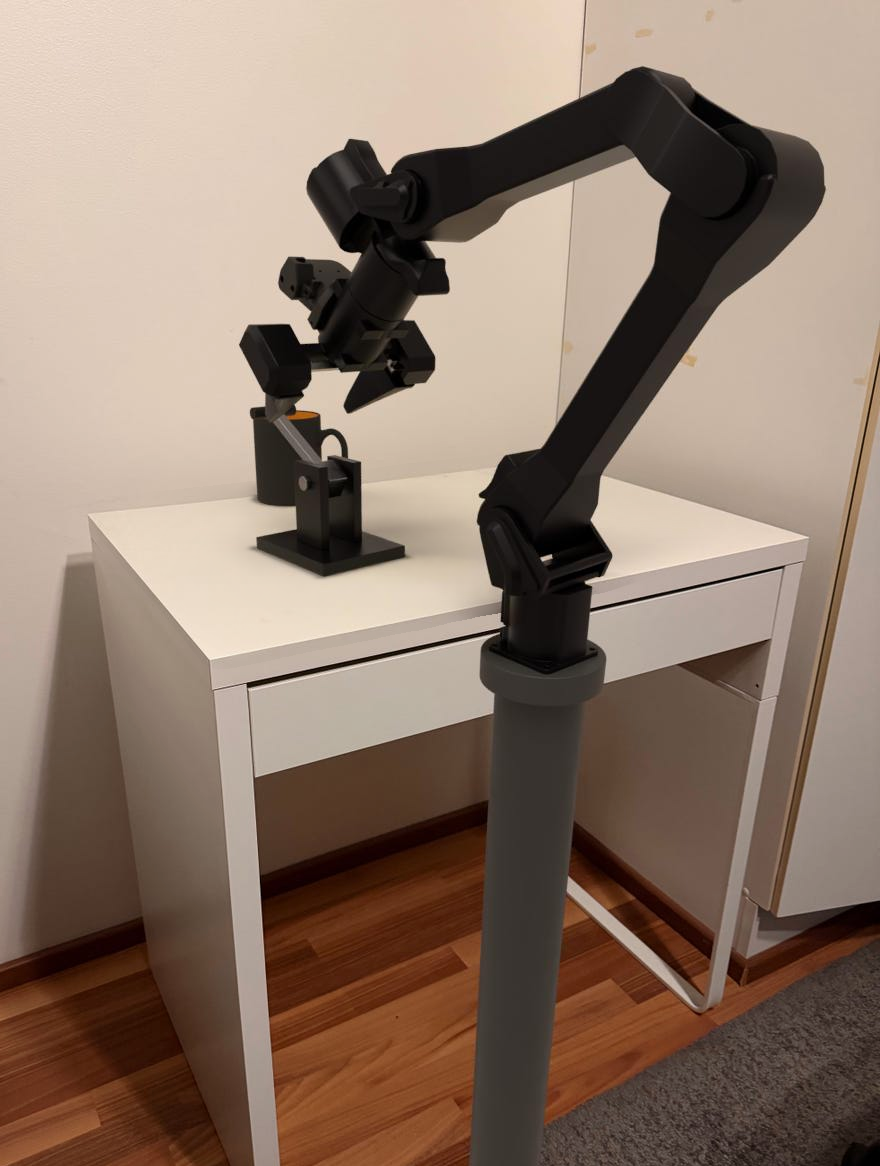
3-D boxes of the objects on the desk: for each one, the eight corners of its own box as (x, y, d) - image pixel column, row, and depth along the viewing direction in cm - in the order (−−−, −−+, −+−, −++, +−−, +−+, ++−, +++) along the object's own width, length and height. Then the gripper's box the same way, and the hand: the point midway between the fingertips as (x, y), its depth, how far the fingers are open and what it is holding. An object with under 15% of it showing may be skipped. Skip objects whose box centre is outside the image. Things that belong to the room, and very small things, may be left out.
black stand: (256, 548, 90) (251, 457, 86) (335, 531, 96) (333, 446, 92) (323, 576, 81) (320, 478, 78) (405, 556, 87) (406, 464, 84)
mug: (337, 510, 105) (335, 422, 101) (246, 503, 108) (241, 417, 104) (359, 495, 112) (358, 413, 108) (273, 488, 115) (269, 408, 111)
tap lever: (247, 419, 90) (252, 400, 88) (287, 415, 93) (293, 396, 91) (311, 501, 84) (317, 482, 83) (352, 494, 87) (359, 475, 86)
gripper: (418, 227, 81) (349, 345, 93) (243, 218, 70) (190, 353, 82) (474, 321, 78) (395, 430, 90) (301, 326, 67) (238, 450, 79)
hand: (308, 413), depth 85 cm, fingers open, 9 cm apart
